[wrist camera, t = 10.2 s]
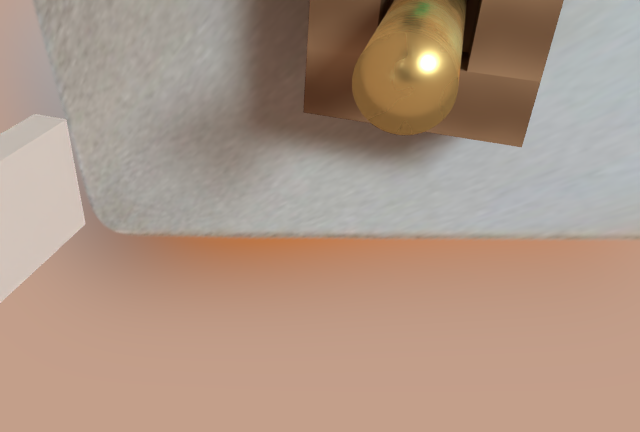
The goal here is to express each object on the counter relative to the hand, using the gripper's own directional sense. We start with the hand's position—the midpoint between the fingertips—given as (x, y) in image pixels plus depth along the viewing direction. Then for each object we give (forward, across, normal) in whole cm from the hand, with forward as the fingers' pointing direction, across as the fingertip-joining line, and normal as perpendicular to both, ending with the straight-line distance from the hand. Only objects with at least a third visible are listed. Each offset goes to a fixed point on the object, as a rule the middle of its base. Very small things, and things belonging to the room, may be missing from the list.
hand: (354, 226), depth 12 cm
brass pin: (+23, 0, 0) cm, 23 cm away
